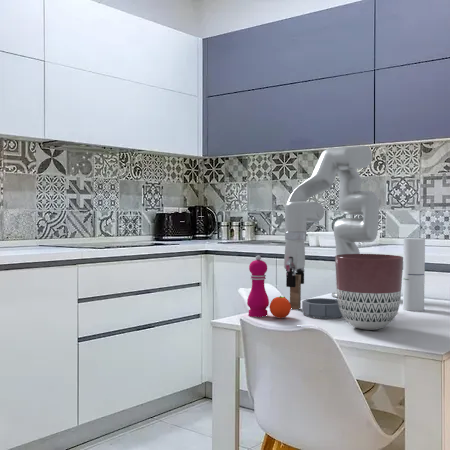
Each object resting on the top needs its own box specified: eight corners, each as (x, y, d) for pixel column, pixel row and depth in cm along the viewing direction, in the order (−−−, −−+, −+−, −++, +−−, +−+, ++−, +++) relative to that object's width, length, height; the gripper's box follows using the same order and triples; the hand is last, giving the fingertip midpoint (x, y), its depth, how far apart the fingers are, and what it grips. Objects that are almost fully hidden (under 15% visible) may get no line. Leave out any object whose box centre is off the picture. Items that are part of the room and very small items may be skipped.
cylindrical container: (420, 311, 200) (421, 239, 199) (399, 309, 204) (400, 238, 203) (427, 309, 206) (427, 238, 205) (407, 307, 210) (407, 237, 209)
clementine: (276, 314, 194) (276, 293, 194) (295, 316, 190) (295, 295, 190) (265, 318, 187) (265, 296, 187) (285, 320, 184) (285, 298, 183)
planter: (353, 319, 186) (353, 252, 185) (412, 327, 173) (413, 256, 173) (322, 329, 171) (323, 256, 170) (385, 338, 158) (386, 260, 158)
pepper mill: (243, 316, 191) (243, 255, 190) (252, 313, 197) (252, 254, 196) (263, 318, 187) (263, 256, 187) (272, 314, 194) (272, 255, 193)
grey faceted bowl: (309, 310, 203) (310, 297, 203) (346, 313, 197) (347, 299, 197) (298, 316, 191) (298, 302, 191) (337, 319, 185) (337, 305, 185)
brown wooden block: (292, 307, 207) (292, 274, 207) (300, 308, 206) (300, 274, 206) (289, 309, 205) (290, 275, 204) (298, 309, 203) (298, 275, 203)
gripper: (293, 235, 214) (292, 281, 215) (277, 237, 198) (277, 287, 199) (313, 236, 211) (312, 283, 211) (298, 238, 195) (298, 289, 196)
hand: (295, 285), depth 205 cm, fingers open, 9 cm apart
